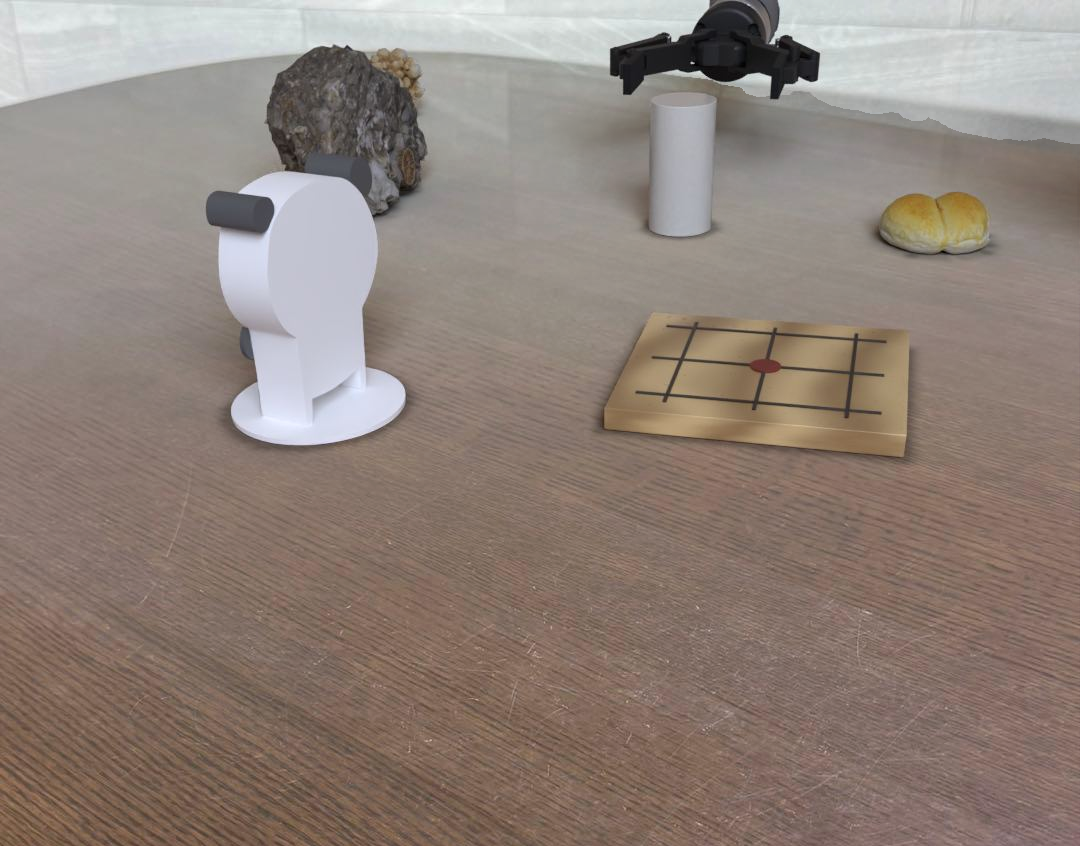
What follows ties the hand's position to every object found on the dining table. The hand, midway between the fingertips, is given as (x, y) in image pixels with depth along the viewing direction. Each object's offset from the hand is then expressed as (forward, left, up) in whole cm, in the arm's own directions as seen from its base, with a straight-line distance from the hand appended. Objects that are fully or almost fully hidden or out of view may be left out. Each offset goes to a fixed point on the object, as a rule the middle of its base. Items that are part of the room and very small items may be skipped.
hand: (699, 81), depth 110 cm
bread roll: (-22, +10, -11) cm, 26 cm away
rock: (+33, +7, -11) cm, 35 cm away
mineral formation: (+45, -24, -11) cm, 52 cm away
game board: (-11, +42, -10) cm, 44 cm away
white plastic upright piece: (+17, +50, -11) cm, 53 cm away
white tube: (0, +9, -10) cm, 14 cm away
